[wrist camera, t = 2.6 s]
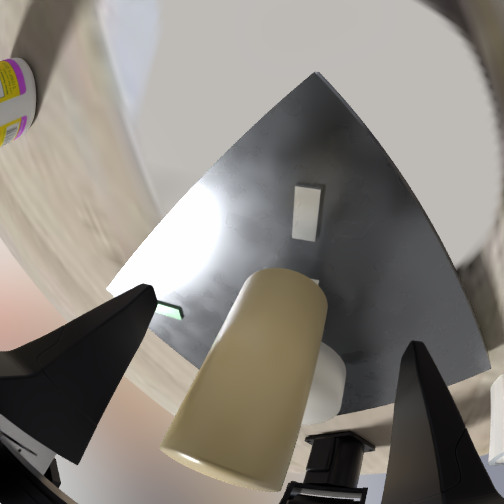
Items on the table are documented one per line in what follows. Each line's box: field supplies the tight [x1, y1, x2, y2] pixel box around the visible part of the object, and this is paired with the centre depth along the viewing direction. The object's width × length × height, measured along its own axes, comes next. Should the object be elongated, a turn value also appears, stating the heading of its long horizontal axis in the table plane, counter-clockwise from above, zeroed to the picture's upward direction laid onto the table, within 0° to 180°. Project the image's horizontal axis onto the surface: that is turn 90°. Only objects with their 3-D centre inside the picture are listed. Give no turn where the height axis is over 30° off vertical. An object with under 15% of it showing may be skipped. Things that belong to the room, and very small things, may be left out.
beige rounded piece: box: [159, 268, 346, 492], centre depth 11 cm, size 12×7×8 cm, turn 2°
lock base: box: [107, 72, 491, 415], centre depth 17 cm, size 20×20×3 cm
